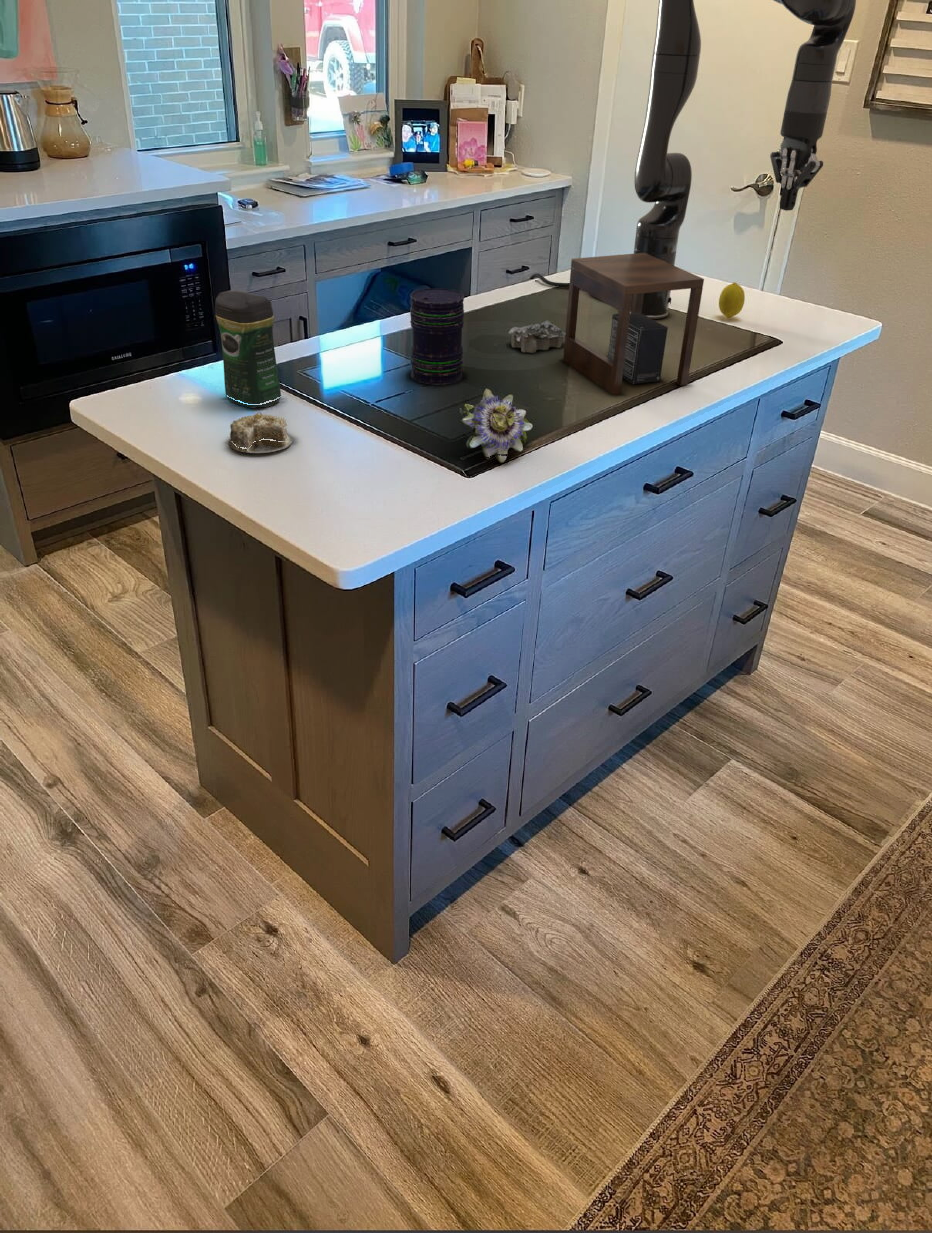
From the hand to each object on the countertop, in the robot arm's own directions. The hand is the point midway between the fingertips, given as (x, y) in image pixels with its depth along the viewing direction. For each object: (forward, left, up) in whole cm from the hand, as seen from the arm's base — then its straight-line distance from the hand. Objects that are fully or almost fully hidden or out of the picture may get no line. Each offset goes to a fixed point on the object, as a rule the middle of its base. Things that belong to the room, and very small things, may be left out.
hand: (786, 209), depth 183 cm
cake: (+14, -108, -27) cm, 112 cm away
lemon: (-19, +6, -27) cm, 34 cm away
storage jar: (-6, -70, -27) cm, 75 cm away
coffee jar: (-5, -105, -27) cm, 109 cm away
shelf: (+4, -35, -27) cm, 44 cm away
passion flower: (+29, -74, -27) cm, 84 cm away
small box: (+6, -34, -27) cm, 44 cm away
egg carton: (-16, -44, -27) cm, 54 cm away
